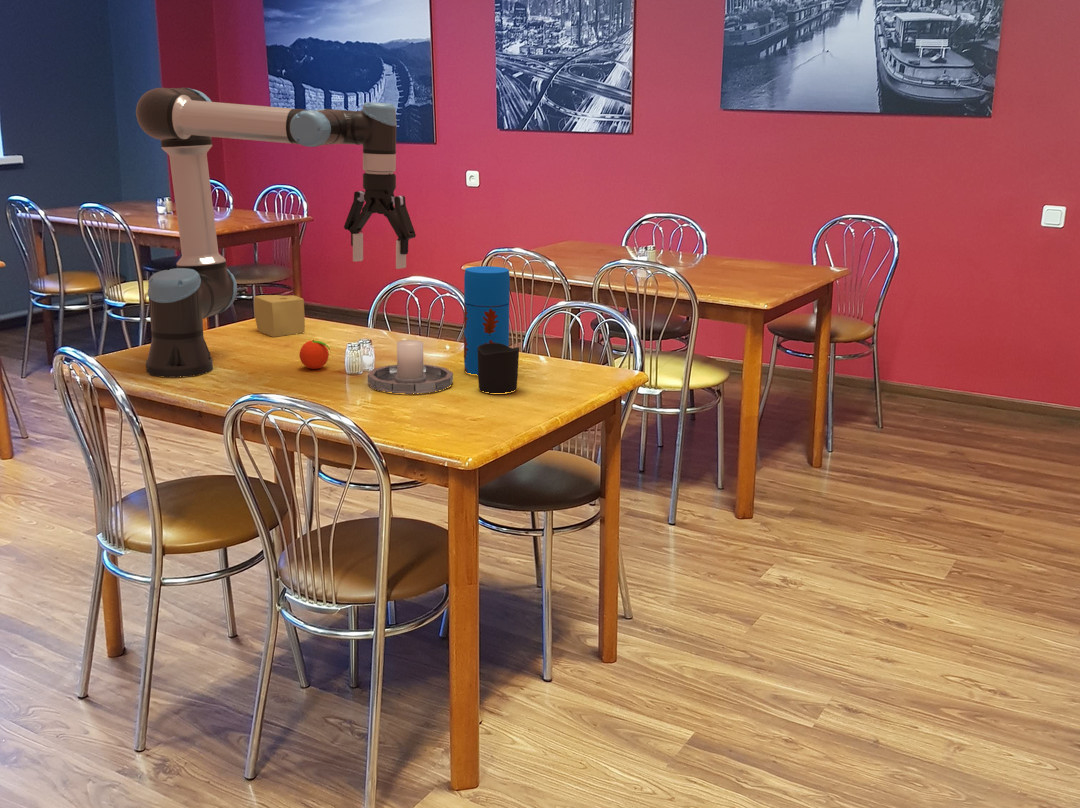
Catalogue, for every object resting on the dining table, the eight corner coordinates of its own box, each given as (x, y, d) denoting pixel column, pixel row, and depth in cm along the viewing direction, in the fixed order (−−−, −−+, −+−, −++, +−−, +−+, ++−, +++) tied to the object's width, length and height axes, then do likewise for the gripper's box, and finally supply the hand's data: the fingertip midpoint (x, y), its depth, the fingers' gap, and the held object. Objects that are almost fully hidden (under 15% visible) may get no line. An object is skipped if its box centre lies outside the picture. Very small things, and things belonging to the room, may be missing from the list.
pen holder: (515, 384, 257) (516, 342, 254) (520, 395, 248) (521, 352, 245) (475, 385, 255) (475, 343, 252) (479, 396, 246) (479, 352, 244)
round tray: (416, 399, 242) (416, 388, 242) (352, 385, 252) (351, 375, 252) (468, 382, 258) (468, 372, 257) (405, 369, 268) (405, 360, 267)
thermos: (468, 378, 261) (469, 273, 254) (459, 367, 271) (460, 266, 264) (513, 376, 264) (514, 272, 257) (502, 365, 274) (504, 265, 267)
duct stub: (432, 379, 256) (432, 342, 253) (412, 386, 250) (412, 347, 247) (408, 375, 259) (408, 337, 257) (388, 381, 254) (387, 343, 251)
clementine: (337, 367, 269) (337, 338, 267) (325, 373, 262) (324, 344, 260) (308, 364, 271) (307, 336, 269) (294, 370, 264) (293, 341, 262)
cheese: (288, 327, 313) (287, 292, 310) (307, 333, 305) (305, 298, 302) (254, 331, 306) (252, 295, 303) (272, 338, 298) (270, 301, 295)
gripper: (431, 176, 249) (430, 269, 255) (351, 167, 262) (351, 256, 268) (409, 177, 243) (408, 273, 249) (328, 168, 256) (329, 259, 262)
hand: (379, 264), depth 258 cm, fingers open, 13 cm apart
